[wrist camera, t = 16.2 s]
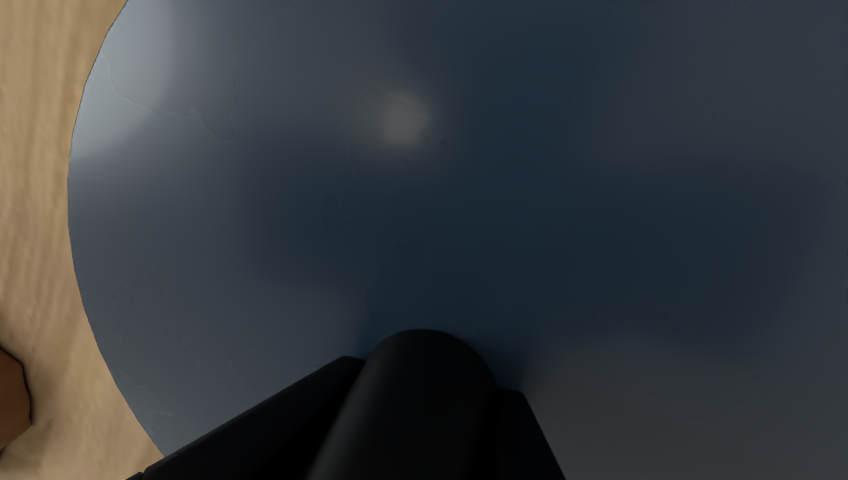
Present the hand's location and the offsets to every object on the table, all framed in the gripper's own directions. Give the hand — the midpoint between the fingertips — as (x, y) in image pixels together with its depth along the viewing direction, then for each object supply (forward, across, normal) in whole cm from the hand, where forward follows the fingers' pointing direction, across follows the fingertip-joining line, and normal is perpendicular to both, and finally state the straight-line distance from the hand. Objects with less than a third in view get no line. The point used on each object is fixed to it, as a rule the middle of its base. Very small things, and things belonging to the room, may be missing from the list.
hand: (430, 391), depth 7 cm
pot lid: (+1, 0, 0) cm, 1 cm away
